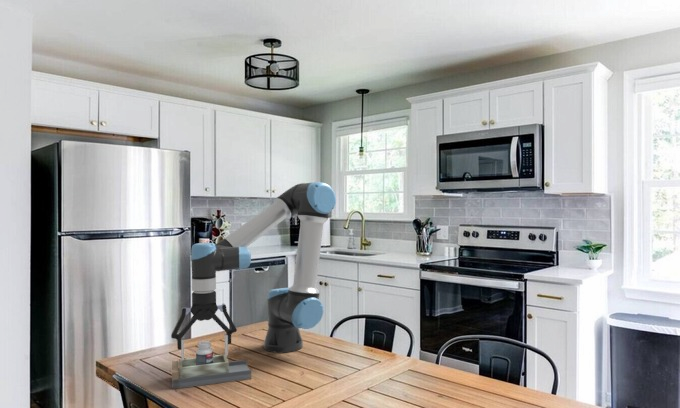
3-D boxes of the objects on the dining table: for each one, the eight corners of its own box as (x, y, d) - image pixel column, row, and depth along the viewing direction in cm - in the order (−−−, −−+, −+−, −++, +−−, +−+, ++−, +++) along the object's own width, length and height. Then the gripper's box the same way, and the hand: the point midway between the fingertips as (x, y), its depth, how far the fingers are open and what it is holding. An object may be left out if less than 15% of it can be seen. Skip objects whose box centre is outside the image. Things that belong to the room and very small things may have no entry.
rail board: (246, 367, 161) (246, 353, 161) (251, 378, 151) (250, 363, 151) (172, 376, 154) (172, 361, 154) (171, 389, 143) (171, 372, 143)
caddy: (226, 366, 158) (225, 354, 158) (228, 375, 150) (228, 362, 150) (179, 371, 153) (178, 359, 153) (179, 381, 145) (179, 368, 145)
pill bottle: (208, 373, 149) (207, 345, 149) (193, 372, 150) (192, 344, 150) (215, 367, 154) (215, 340, 154) (201, 366, 155) (200, 340, 155)
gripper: (241, 286, 159) (242, 348, 159) (163, 291, 151) (164, 357, 151) (244, 290, 152) (245, 355, 152) (162, 296, 144) (163, 365, 144)
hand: (204, 356), depth 152 cm, fingers open, 13 cm apart
